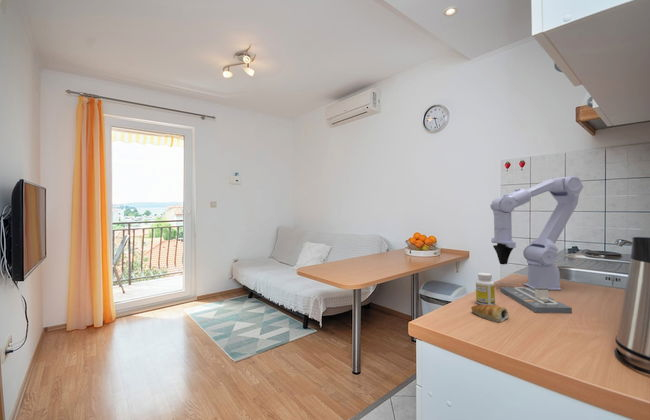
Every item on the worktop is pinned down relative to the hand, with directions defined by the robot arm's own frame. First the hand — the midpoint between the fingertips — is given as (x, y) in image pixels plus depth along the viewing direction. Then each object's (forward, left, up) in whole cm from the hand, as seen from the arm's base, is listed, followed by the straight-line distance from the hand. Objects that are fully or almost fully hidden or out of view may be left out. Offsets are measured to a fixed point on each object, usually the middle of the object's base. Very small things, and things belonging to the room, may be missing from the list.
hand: (503, 264), depth 115 cm
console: (-2, +15, -9) cm, 18 cm away
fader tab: (-2, +20, -8) cm, 22 cm away
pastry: (+17, +30, -10) cm, 36 cm away
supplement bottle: (+14, +18, -10) cm, 25 cm away
